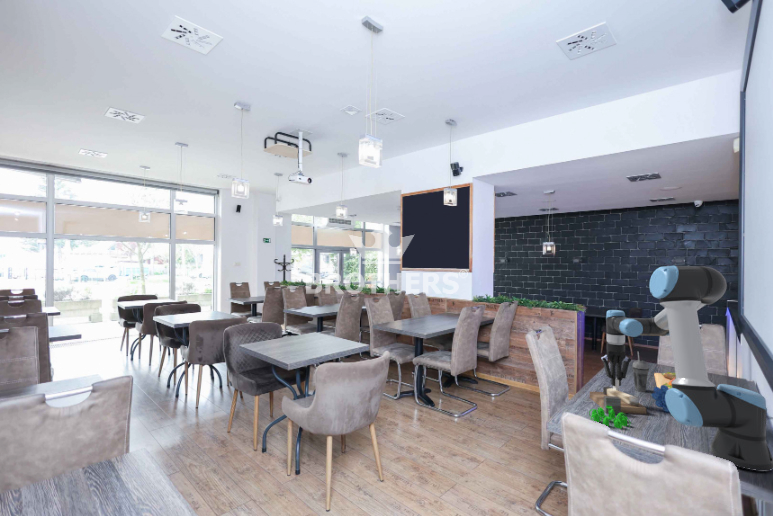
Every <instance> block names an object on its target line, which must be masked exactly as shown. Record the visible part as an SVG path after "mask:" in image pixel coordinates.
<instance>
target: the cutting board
mask: <svg viewBox="0 0 773 516" xmlns="http://www.w3.org/2000/svg"><path fill="white" fill-rule="evenodd" d="M653 374H654V375H653V376H654V380H655V384H656V387H659V388H660V387H661V385H665V386H667V387H668V388H669V389H670V388H672V383H671V382H672V381H674V380H675V379H676V374H675V372H670V371H667V372H663V373H660V372H654V373H653ZM660 389H661V388H660Z"/></svg>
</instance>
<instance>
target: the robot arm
mask: <svg viewBox="0 0 773 516" xmlns="http://www.w3.org/2000/svg"><path fill="white" fill-rule="evenodd" d="M649 291H650V294H651V296H653V297H654V298H656V299H658V301H659V305H660V306H661V307H663V308H664V309H662V310H661V311H660V312H659V313H657V314H656V315H655V316H654V317H652V318H648V317H647V318H645V317H642V318H639V317H627V316H626V313H625V311H624V310H620V309H619V310H618V309H609V310H607V311H606V317H605V321H606V322H605V323H606V353H605V355H604V356H600V359H601V361H602V363H603V367H604V371H605V375H606V376H607V377H608V378H609V379H610V384H611V386H612V388H613V389H615V390H618V391H620V387H621V386H622V380H623V379H626V377H627V373H628V368H629V365H630V363H631V362H632V358H630V357H629V356H627V355H626V345H625V343H626V336H628V337H632V338H636V337H639V336H653V337H654V336H656V337H657V336H659V337H660V336H661V337H666V336H669V339H670V340H669V341H670V345H671V346H670V347H671V352H672V359H673V367H674V373H675V374H676V379H675V380H674V381H672V382H671V383H672V388H671V389H669V390H667V392H666V395H665V400H666V405H667V407H668V410H669V411H670V412H669V413H670V415H671V416H672V417H673V419H675V421H677V422H678V423H679V424H680V425H682V426H686V427H695V428H701V427H702V428H717V429H716V432H715V433H714V436H713V439H712V441H711V443H710V453H711V454H712V455H713V457H715V456H717V457H720V458H723V459H726V460H729V461H731V462H733V463H734V464H735V465H736V466H735V467H737V465H738V466H740V467H745V468H750V469H756V470H770V469H772V468H773V456H772V454H771V451H770V448H769V445H768V443H767V411H768V407H767V400H766V398H765V396H763V395H762V394H760V393H759V392H756V391H754V390H751V389H748V388H743V387H740V386H735V385H732V384H731V385H730V384H725V383H719V384H718V385H717V386H716V384H715V383H713V382H712V381H710V379H709V374H708V370H707V369H708V368H707V364H706V358H705V357H706V356H705V351H704V345H703V339H702V334H701V327H700V321H699V316H698V311H699V310H700V309H701V308H703V307H705V306H706V305H712V304H714V303H716V302H717V301H718V300H720V299H721V298H722V297H723V296H724V294H725V293H726V291H727V280H726V278H725V276H724V275H723V274H722V273H721V272H720V271H719V270H717V269H715V268H713V267H710V266H704V265H698V266H695V265H692V266H691V265H665V266H660V267H658V268H656V269H655V270H654V271H653V273H652V274H651V277H650V279H649ZM608 361H609V362H608ZM609 363H610V366H609ZM717 457H716V458H717ZM740 467H739V468H740Z"/></svg>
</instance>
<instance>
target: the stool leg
mask: <svg viewBox="0 0 773 516" xmlns="http://www.w3.org/2000/svg"><path fill="white" fill-rule="evenodd" d="M602 392H603V394H605V395H608V396H616V397H619V398H621V401H623V402H625V403H628V404H630V405H633V406H639V403H640V398H639V397H638V396H636V395H632V394H629V393H626V392H624V391H620V390H619V391H618V390H615V389H613V387H610V386H603V391H602Z"/></svg>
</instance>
